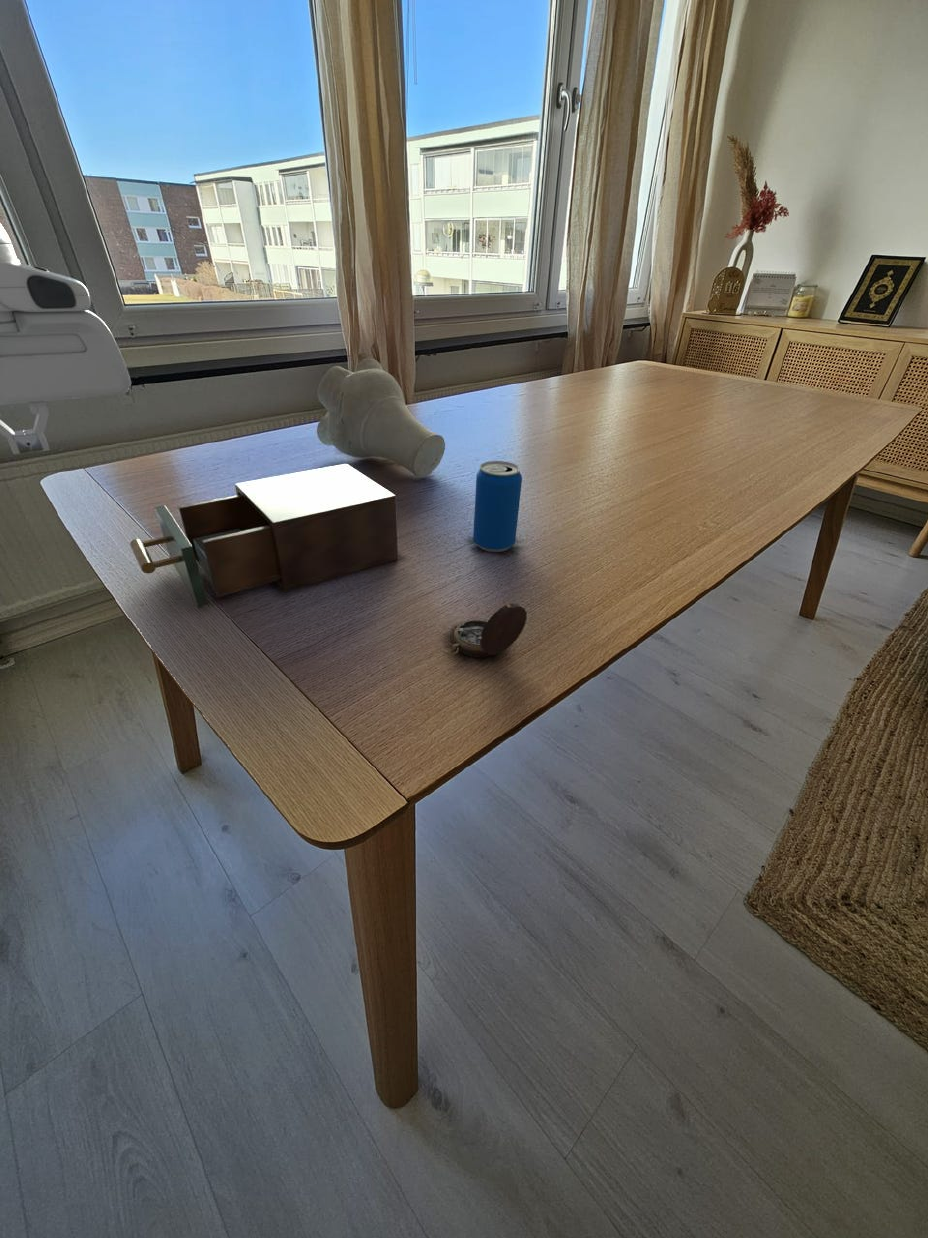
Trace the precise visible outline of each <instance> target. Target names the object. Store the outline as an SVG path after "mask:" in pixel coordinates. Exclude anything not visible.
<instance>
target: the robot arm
mask: <svg viewBox="0 0 928 1238" xmlns="http://www.w3.org/2000/svg"><path fill="white" fill-rule="evenodd" d="M91 304H92V300H91V295H90V292H89V290H88V287H86V285H85V284H84V283H82V282H81V281H80V280H78V279H75V278H73V277H70V276H66V275H64V274H59V273H56V272H52V271H49V270H48V269H47V268H45V267H43V266H41V265H35V264H34V265H33V266H32V265H28V264H25V263H22V262H21V261H20V259H19V258H18V257H17V254H16V252H15V249H14V247H13V244H12V241H11V239H10V237H9V235H8V233H7V231H6V229H5V228H4V226H3V225H2V224H1V222H0V406H3V405H4V406H5V405H15V404H27V406H28V409H29V411H30V413H31V414H32V415H36V416H35V420H34V424H33V428H29V429H19V430H13V429H12V428H11V427H10V426H9V425H7V424H6V423H5V422H4V421H2V420H1V419H0V436H2V437H4V438H6V440H7V443H8V445H9V447H10V449H11V451H12V454H13V455H21V454H28V453H38V452H45V451H50V450H51V448H50V446H49V443H48V441H47V438H46V436H45V433H46V428H47V425H48V424H47V423H48V421H49V417H50V411H49V408H48V405H47V403H46V402H50V401H62V400H73V399H83V398H85V399H86V398H96V397H108V396H118V395H119V396H120V395H125V394H127V393H128V391H129V390H130V388H131V386H132V380H131V376H130V373H129V370H128V368H127V365H126V362H125V360H124V357H123V354H122V352H121V350H120V348H119V345H118V344H117V341H116V339H115V337H114V335H113V333H112V332H111V330H110V328H109V327H108V325H107V324H106V323H105V321H103V320H102V318H100V317H99V316H98V315H96V314H95V313H94V312H92V311H90V308H91V306H92V305H91ZM1 417H2V415H1V414H0V418H1Z"/></svg>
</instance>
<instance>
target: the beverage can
mask: <svg viewBox="0 0 928 1238" xmlns="http://www.w3.org/2000/svg"><path fill="white" fill-rule="evenodd" d="M475 476H476V477H475V493H474V495H475V496H474V512H473V514H474V515H473V529H472V531H473V532H472V541H473V543H474V544H475V545H476V546H478V548H480V549H481V550H483V551H486V552H489V553H501V552H505V551H507V550H509V549H510V548H512V547H513V546H514V545H515V544H516V539H517V531H518V521H519V512H520V504H521V503H520V502H521V494H522V492H521V491H522V484H523V483H522V481H523V476H522V474H521V467H520V466H519V465H518V464H516V463H513V462H510V461H506V460H505V461H504V460H489V461H485V462H483V463H480V465H479V470H478V471H477V473H476V475H475Z"/></svg>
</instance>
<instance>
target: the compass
mask: <svg viewBox="0 0 928 1238" xmlns="http://www.w3.org/2000/svg"><path fill="white" fill-rule="evenodd" d="M527 616H528V613H527V611H526V608H525V607H523V606H522V605H520V604H519V603H517V602H510V603H508V602H507V601H504V605H503V606H502V607H500V608H498V609H497V610H496V611H495V612H494V613H493V614H492V615H491V616H490V618H489V619H487V620H483V619H482V620H481V619H471V620H466V621H464V622H461V623H459V624H457V625H456V626H454V628H453V629H452V630H451V632H450V643H446V644H444V645H443V646H442V647H441V651H442V653H443V654H445V655H448V656H453V655H457V654H458V653H461V654H463V655H466V656H468V657H472V658H473V657H474V658H484V657H485V658H486V657H490V656H492V655H497V654H500V653H502V652H504V651H506V650H507V649H508V648H510V647H511V646H512V645H513V644H514V643H515V642H516V641H517V640H518V638H519V637H520V635H521V634H522V632H523V630H524V628H525V626H526V622H527V620H528V619H527V618H528V617H527ZM448 646H451V649H452V650H453V651H455V650H456V651H455V652H453V653H449V652H446V651H445V650H444V649H445V648H446V647H448Z"/></svg>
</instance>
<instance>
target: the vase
mask: <svg viewBox="0 0 928 1238" xmlns="http://www.w3.org/2000/svg"><path fill="white" fill-rule="evenodd" d="M404 396H405V395H404V393H403V390H402V388H401V386H400V384H399V382H398V381H397V380H396V379H395V377H394V376H393V375H391V374H390V373H389V372H388V371H386V370H384V369H383V368H382V365H381V363H379V362H378V360H377V359H374V358H364V359H361V361H359V362H358V363H357V365H356V366H355V369H354V371H350V370H348V369H345V368H343V367H342V366H339V365H336V366H331V368H329V369H328V370H327V371H326V372H325V374H324V375H323V377H322V378H321V380H320V382H319V385H318V388H317V399H318V401H319V403H320V404H321V405H322V406H323V407H324V408H325V410H326V411H327V413H326V414H325V415H324V416H323V417H322V418H321V419H320V420H319V422H318V423H317V427H316V435H317V437H318V439H319V441H320V442H321V444H323V445H324V446H327V447H334V448H336V450H338V451H339V452H340V453H342V454H344V455H347V456H350V457H353V458H359V459H360V458H361V459H363V458H371V457H376V458H383V459H387V460H390V461H392V462H394V463H396V464H398V465H399V466H401V467H403V468H405V469H406V470H407V471H409V472H410V473H411V474H413V475H414V476H415V477H417V478H418V479H422V478H426V477H428V476H430V475H431V474H432V473H433V472H434V471H435V469H437V467H438V466H439V465H440V463H441V461H442V459H443V457H444V453H445V451H446V450H445V449H446V442H445V439H444V437H443V436H442V435H440V434H438V433H436V432H434V431H432V430H430V429H429V428H428V427H426V426H425V425H423V424H422V423H421V422H419V421H418V419H416V418H415V417H414V416H413V414H412V413H411V412H410V411H409V409H408V407H407V403H406V402H405V397H404Z"/></svg>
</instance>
